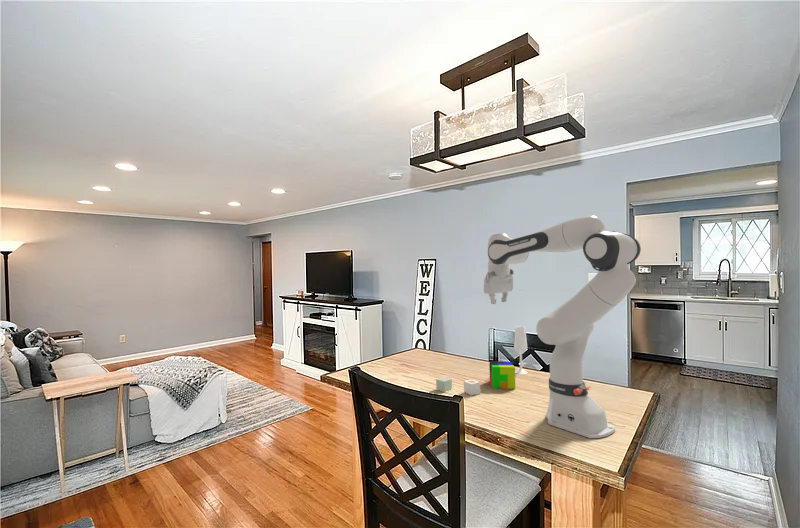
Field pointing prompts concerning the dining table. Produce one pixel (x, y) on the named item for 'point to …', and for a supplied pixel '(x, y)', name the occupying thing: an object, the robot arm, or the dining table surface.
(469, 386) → the letter block
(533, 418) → the dining table surface
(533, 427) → the dining table surface
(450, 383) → the sage block
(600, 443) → the dining table surface
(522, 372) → the champagne flute
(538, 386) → the dining table surface
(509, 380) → the puzzle toy
